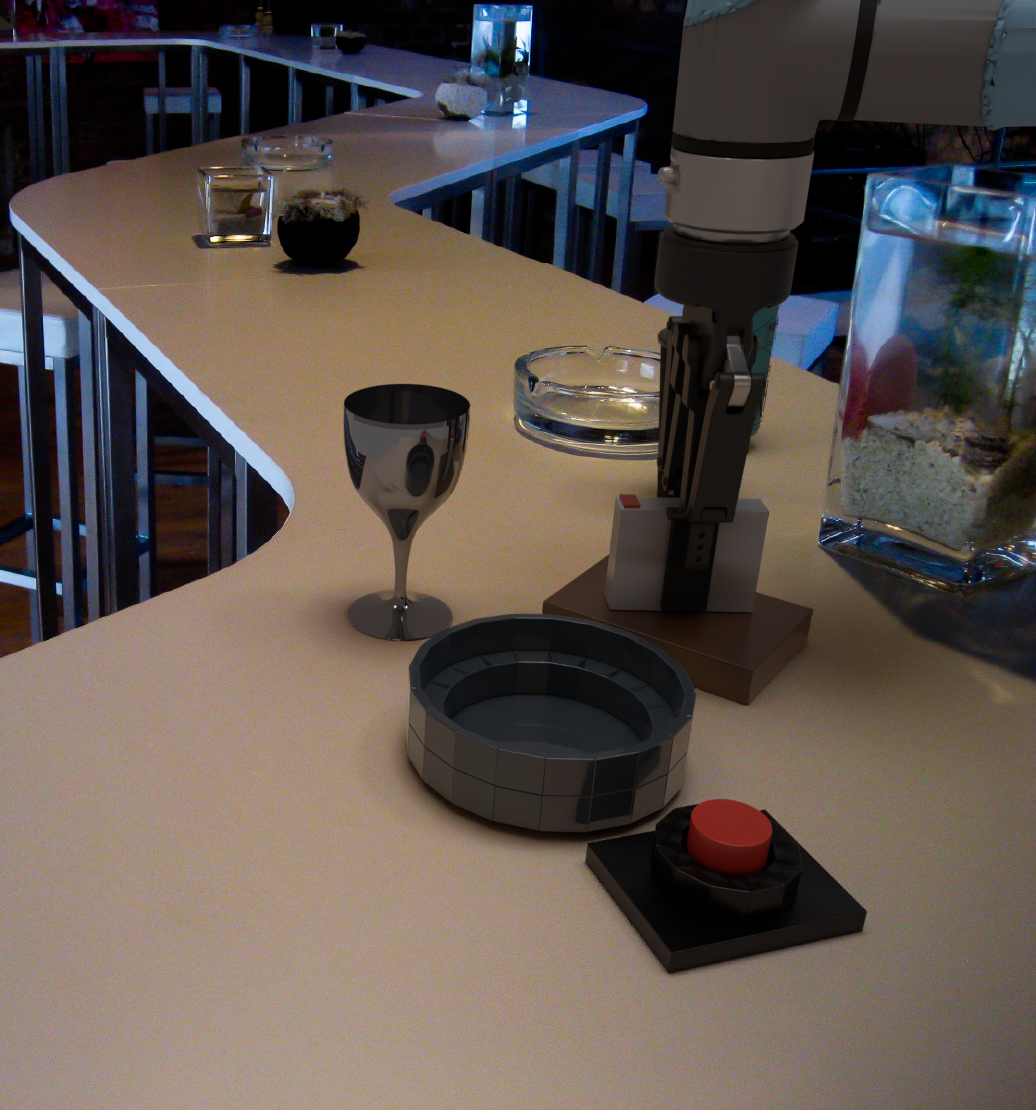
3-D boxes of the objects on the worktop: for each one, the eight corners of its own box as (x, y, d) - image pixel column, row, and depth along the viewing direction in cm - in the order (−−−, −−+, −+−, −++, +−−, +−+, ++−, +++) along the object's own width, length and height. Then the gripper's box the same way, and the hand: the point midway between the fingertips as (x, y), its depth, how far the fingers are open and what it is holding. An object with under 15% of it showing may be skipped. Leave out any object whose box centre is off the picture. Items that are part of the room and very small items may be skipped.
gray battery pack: (744, 598, 84) (761, 495, 81) (752, 612, 82) (770, 508, 79) (604, 595, 85) (615, 493, 81) (609, 609, 83) (621, 505, 80)
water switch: (761, 828, 67) (770, 779, 65) (863, 931, 60) (875, 879, 58) (584, 862, 64) (590, 812, 63) (668, 974, 57) (677, 921, 56)
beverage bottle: (687, 454, 115) (718, 225, 106) (679, 429, 121) (708, 210, 112) (764, 458, 114) (801, 227, 105) (752, 432, 120) (787, 212, 111)
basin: (601, 670, 81) (609, 599, 79) (739, 813, 68) (753, 732, 66) (370, 706, 77) (371, 632, 75) (468, 864, 64) (473, 780, 62)
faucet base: (807, 642, 84) (814, 608, 83) (747, 706, 77) (753, 670, 76) (610, 581, 92) (614, 549, 91) (539, 634, 85) (542, 600, 84)
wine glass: (394, 577, 93) (400, 375, 86) (482, 614, 88) (496, 403, 81) (316, 614, 88) (317, 403, 81) (405, 656, 83) (413, 434, 76)
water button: (738, 822, 63) (743, 793, 62) (782, 869, 60) (788, 838, 59) (671, 835, 62) (676, 805, 61) (713, 883, 59) (718, 852, 58)
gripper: (636, 203, 80) (599, 548, 90) (694, 257, 67) (642, 656, 77) (759, 203, 80) (708, 549, 90) (842, 258, 66) (771, 658, 76)
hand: (678, 598), depth 83 cm, fingers closed on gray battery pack, 2 cm apart
